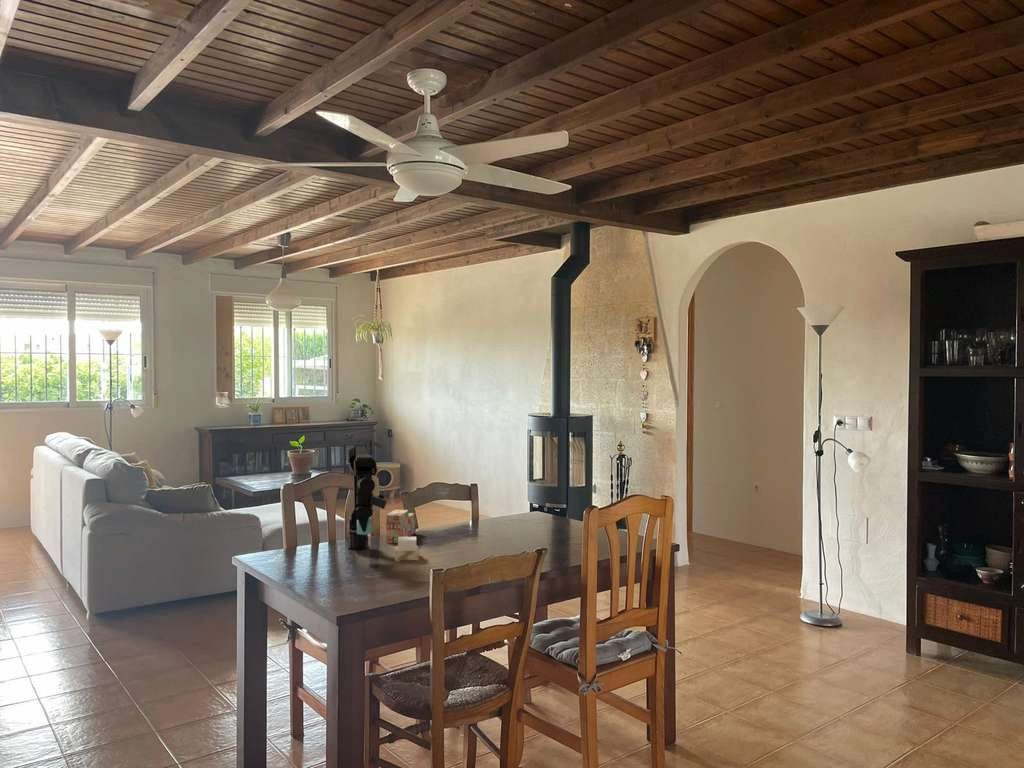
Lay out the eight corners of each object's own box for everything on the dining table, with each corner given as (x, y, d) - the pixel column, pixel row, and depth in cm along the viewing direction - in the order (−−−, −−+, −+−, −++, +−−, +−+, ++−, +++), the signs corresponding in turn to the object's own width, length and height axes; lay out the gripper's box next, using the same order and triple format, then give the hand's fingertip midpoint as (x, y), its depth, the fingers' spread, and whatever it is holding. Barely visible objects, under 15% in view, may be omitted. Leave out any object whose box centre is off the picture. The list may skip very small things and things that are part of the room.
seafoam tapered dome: (354, 534, 297) (354, 520, 297) (361, 531, 302) (361, 518, 302) (367, 535, 295) (367, 521, 295) (373, 532, 300) (374, 519, 300)
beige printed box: (401, 533, 349) (401, 505, 349) (414, 533, 348) (415, 506, 348) (386, 543, 328) (386, 514, 328) (400, 544, 327) (400, 514, 327)
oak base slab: (395, 562, 297) (395, 551, 297) (394, 556, 306) (394, 546, 306) (419, 561, 299) (419, 551, 299) (417, 556, 308) (417, 545, 308)
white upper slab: (397, 551, 298) (397, 540, 298) (398, 547, 305) (398, 536, 305) (416, 550, 299) (416, 540, 299) (416, 546, 306) (416, 536, 306)
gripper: (386, 492, 291) (386, 534, 291) (385, 485, 309) (384, 525, 309) (355, 493, 289) (355, 535, 289) (356, 486, 307) (356, 525, 307)
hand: (364, 530), depth 298 cm, fingers closed on seafoam tapered dome, 5 cm apart
